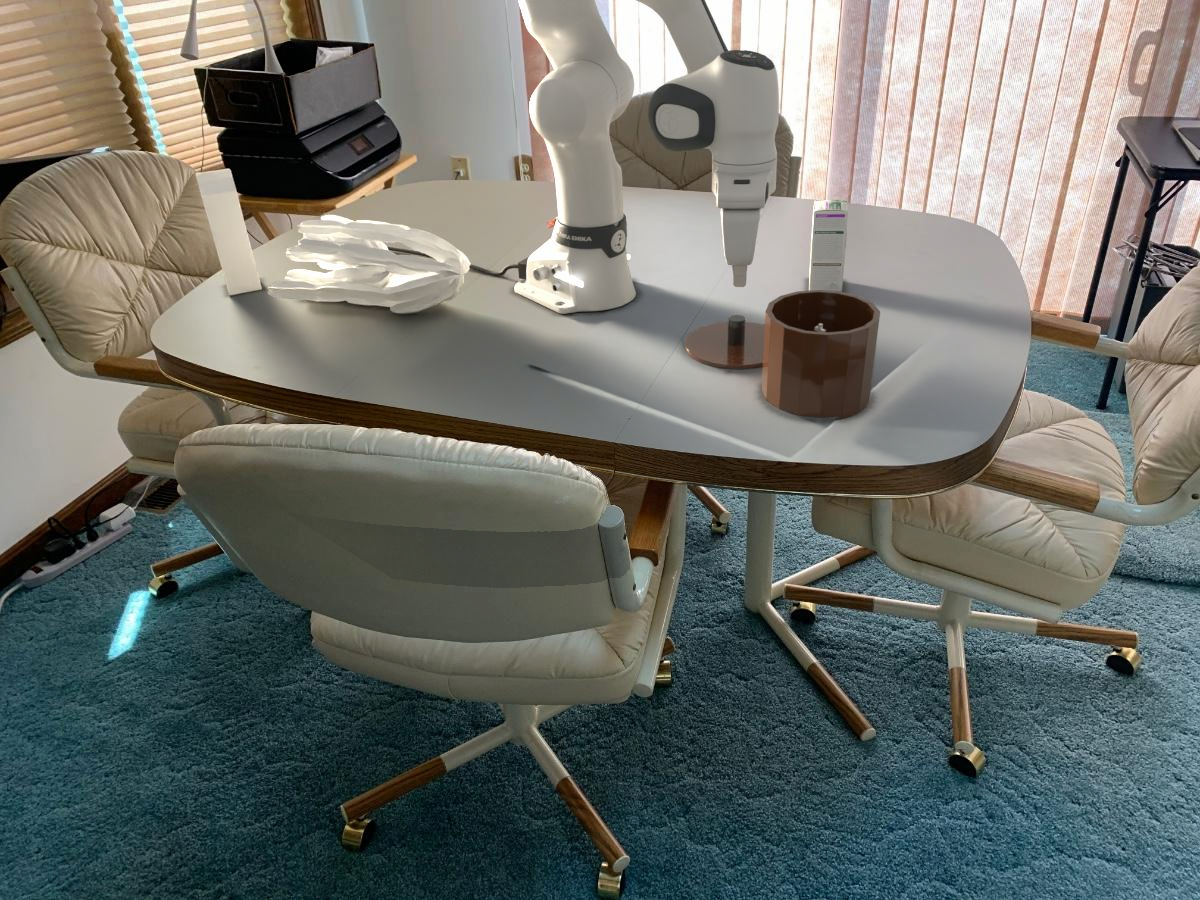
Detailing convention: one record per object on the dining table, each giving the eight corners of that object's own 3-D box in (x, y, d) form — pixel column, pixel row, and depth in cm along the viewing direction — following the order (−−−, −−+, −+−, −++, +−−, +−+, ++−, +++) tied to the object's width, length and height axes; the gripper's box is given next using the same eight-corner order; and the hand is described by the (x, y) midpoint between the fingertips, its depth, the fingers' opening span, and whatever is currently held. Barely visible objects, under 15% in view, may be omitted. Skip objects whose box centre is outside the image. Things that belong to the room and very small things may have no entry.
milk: (262, 290, 172) (232, 172, 160) (228, 296, 170) (195, 177, 158) (258, 279, 177) (229, 164, 165) (226, 285, 175) (194, 169, 163)
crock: (742, 400, 127) (745, 317, 120) (795, 362, 136) (801, 282, 129) (837, 432, 119) (846, 344, 112) (887, 388, 128) (898, 305, 121)
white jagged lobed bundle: (490, 235, 163) (322, 221, 173) (445, 207, 146) (261, 193, 156) (477, 329, 163) (310, 310, 173) (430, 313, 146) (247, 292, 156)
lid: (664, 355, 140) (663, 323, 137) (721, 320, 150) (722, 290, 147) (752, 382, 131) (753, 349, 129) (807, 343, 141) (809, 312, 138)
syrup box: (842, 293, 157) (850, 210, 150) (807, 291, 158) (813, 209, 151) (841, 280, 162) (849, 199, 154) (807, 279, 163) (813, 199, 156)
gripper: (725, 159, 136) (724, 248, 143) (715, 200, 119) (714, 299, 126) (768, 158, 135) (765, 248, 142) (764, 199, 118) (761, 300, 125)
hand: (741, 273), depth 134 cm, fingers open, 8 cm apart
